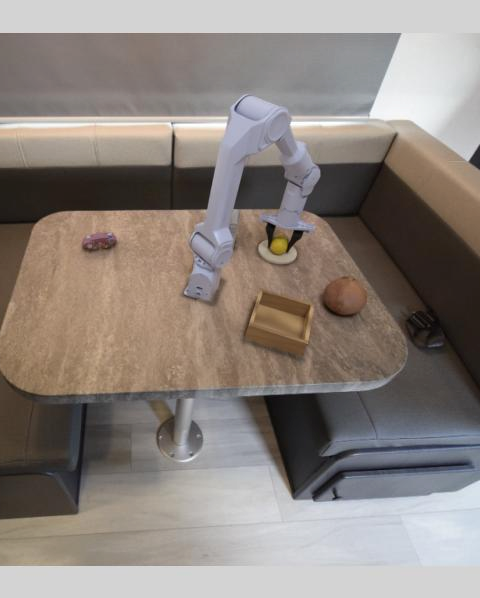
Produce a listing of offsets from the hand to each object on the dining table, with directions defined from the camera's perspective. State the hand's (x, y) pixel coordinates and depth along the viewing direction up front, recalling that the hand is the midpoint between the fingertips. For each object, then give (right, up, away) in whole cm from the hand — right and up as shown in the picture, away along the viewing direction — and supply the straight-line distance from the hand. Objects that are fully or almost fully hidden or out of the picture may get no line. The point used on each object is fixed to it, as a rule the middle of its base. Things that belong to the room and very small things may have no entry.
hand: (278, 248), depth 102 cm
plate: (0, -1, +1) cm, 2 cm away
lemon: (0, 0, +1) cm, 1 cm away
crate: (-7, -22, -19) cm, 30 cm away
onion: (+10, -17, -14) cm, 24 cm away
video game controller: (-52, 0, +1) cm, 52 cm away
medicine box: (-14, +3, +4) cm, 15 cm away
